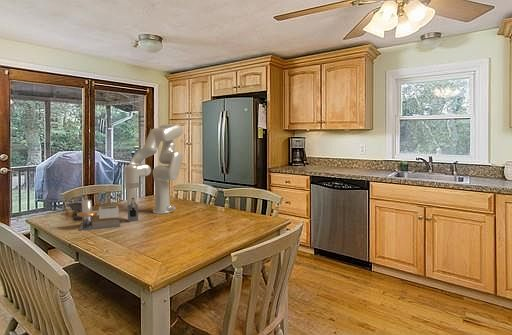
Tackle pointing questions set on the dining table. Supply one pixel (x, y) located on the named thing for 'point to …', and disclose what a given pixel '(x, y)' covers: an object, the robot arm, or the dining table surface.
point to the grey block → (129, 213)
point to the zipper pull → (76, 208)
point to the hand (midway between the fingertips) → (132, 215)
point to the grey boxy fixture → (103, 213)
